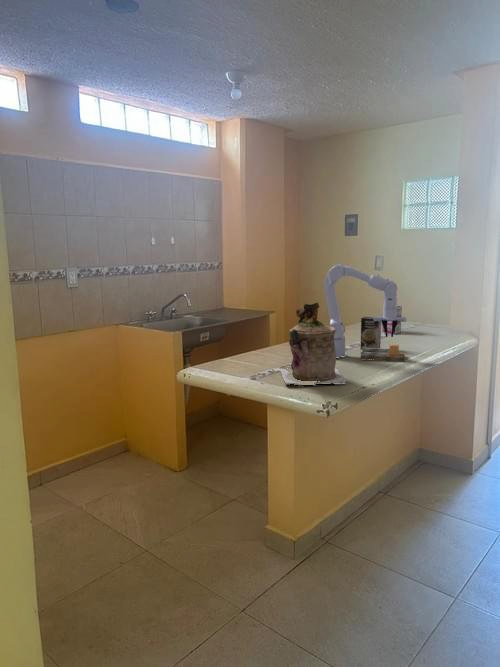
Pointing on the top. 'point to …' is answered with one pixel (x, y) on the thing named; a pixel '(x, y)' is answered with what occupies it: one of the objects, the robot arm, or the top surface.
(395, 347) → the block
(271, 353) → the top surface
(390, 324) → the candy bar box
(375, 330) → the coffee box
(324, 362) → the cookie jar
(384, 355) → the trap channel
